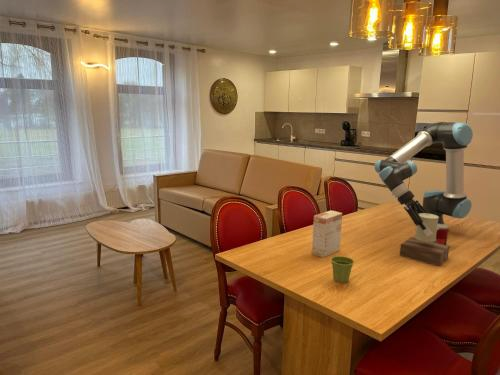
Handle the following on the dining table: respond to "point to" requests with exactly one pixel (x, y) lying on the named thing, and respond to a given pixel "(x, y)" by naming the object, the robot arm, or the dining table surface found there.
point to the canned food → (442, 234)
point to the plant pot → (341, 268)
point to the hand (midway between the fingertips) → (433, 232)
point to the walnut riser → (424, 251)
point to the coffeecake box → (326, 233)
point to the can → (431, 224)
